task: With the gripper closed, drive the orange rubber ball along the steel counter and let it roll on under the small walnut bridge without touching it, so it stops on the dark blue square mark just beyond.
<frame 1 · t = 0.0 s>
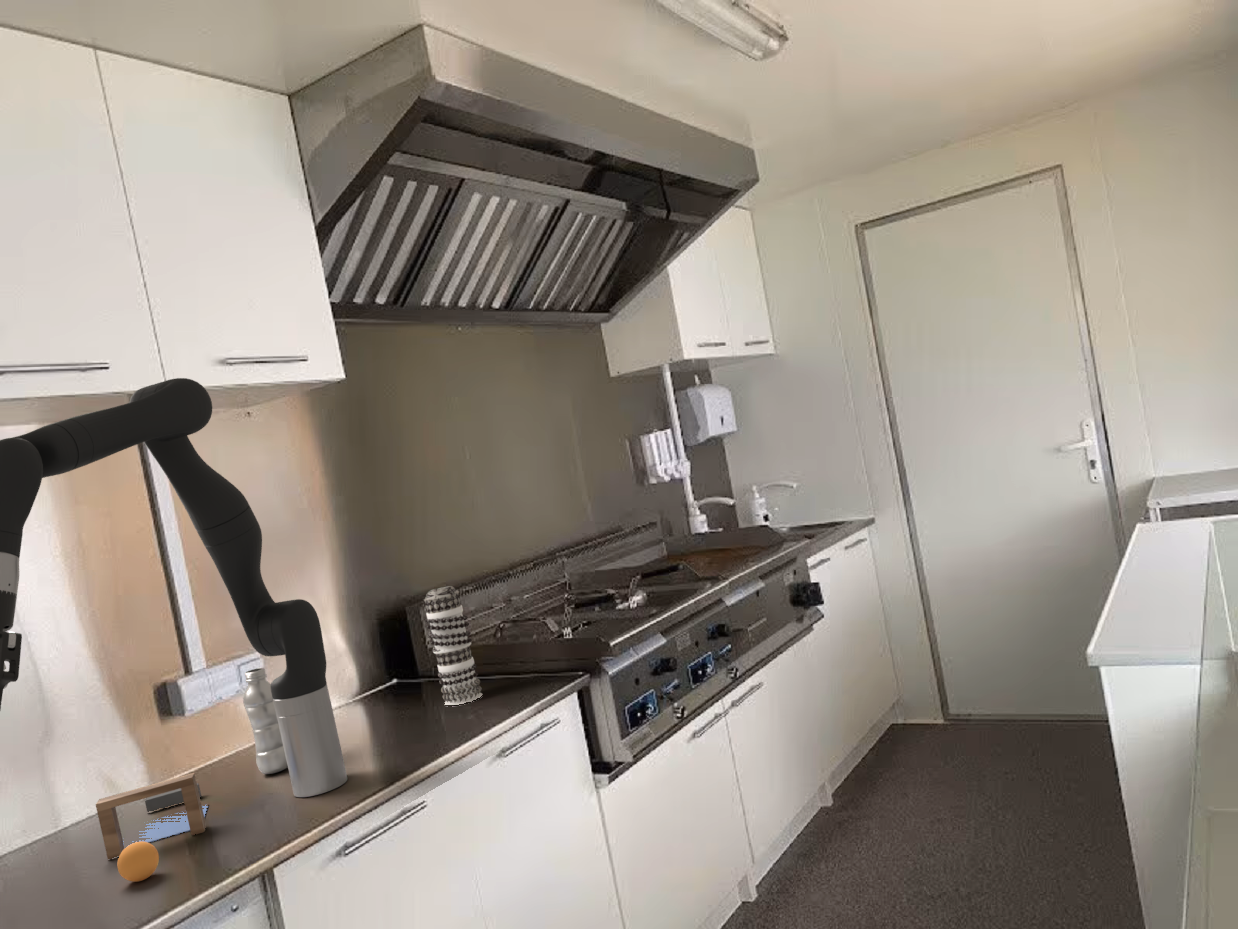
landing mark: (164, 827, 169), on the counter
decorative candle: (463, 701, 217), on the counter
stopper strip: (174, 805, 182), on the counter
ball: (138, 861, 146), on the counter
bridge: (158, 843, 162), on the counter
plastic bottle: (277, 772, 190), on the counter
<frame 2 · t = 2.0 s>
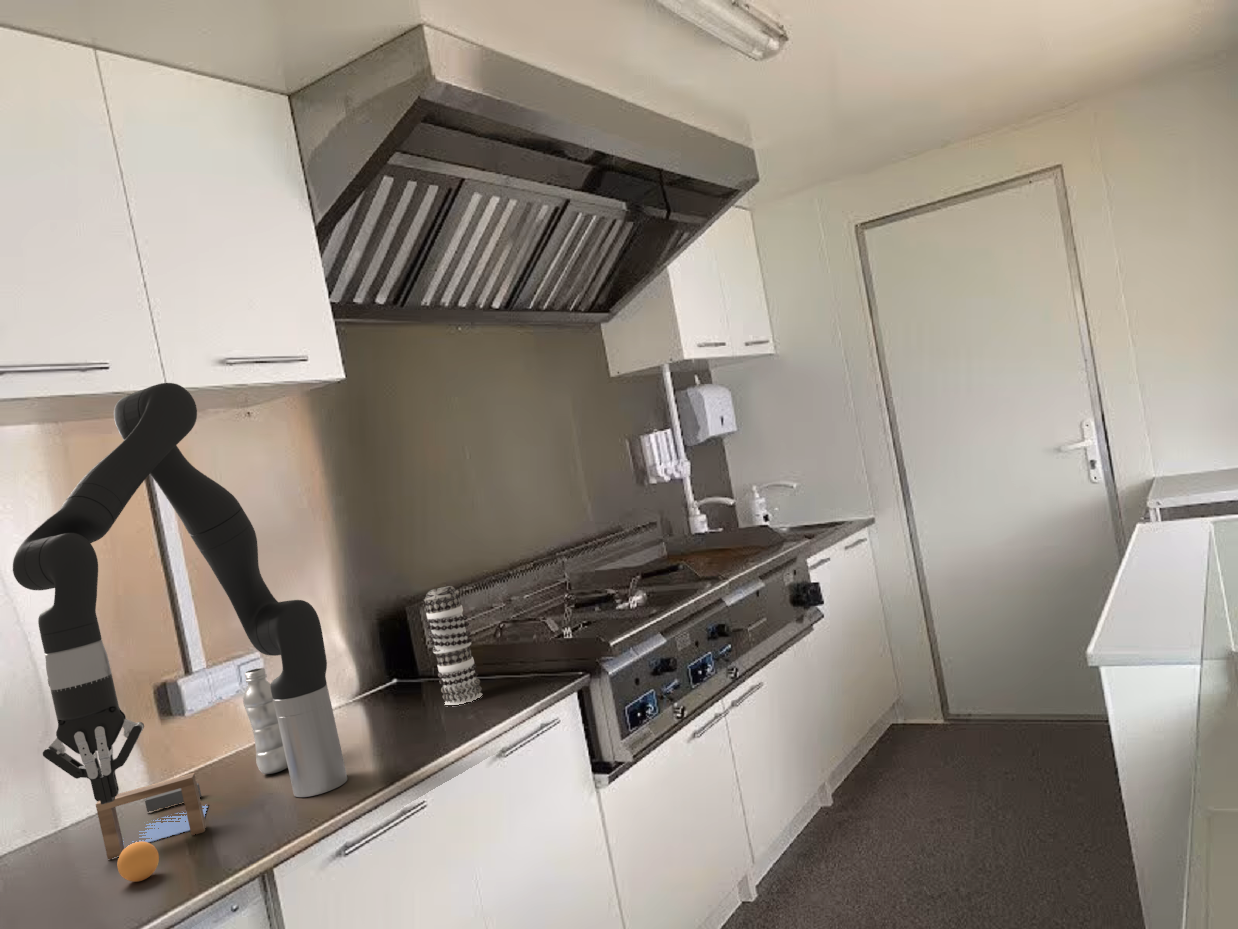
hand: (108, 801, 137), 15 cm above the counter, tool pointing down, fingers closed
nothing on the counter moved.
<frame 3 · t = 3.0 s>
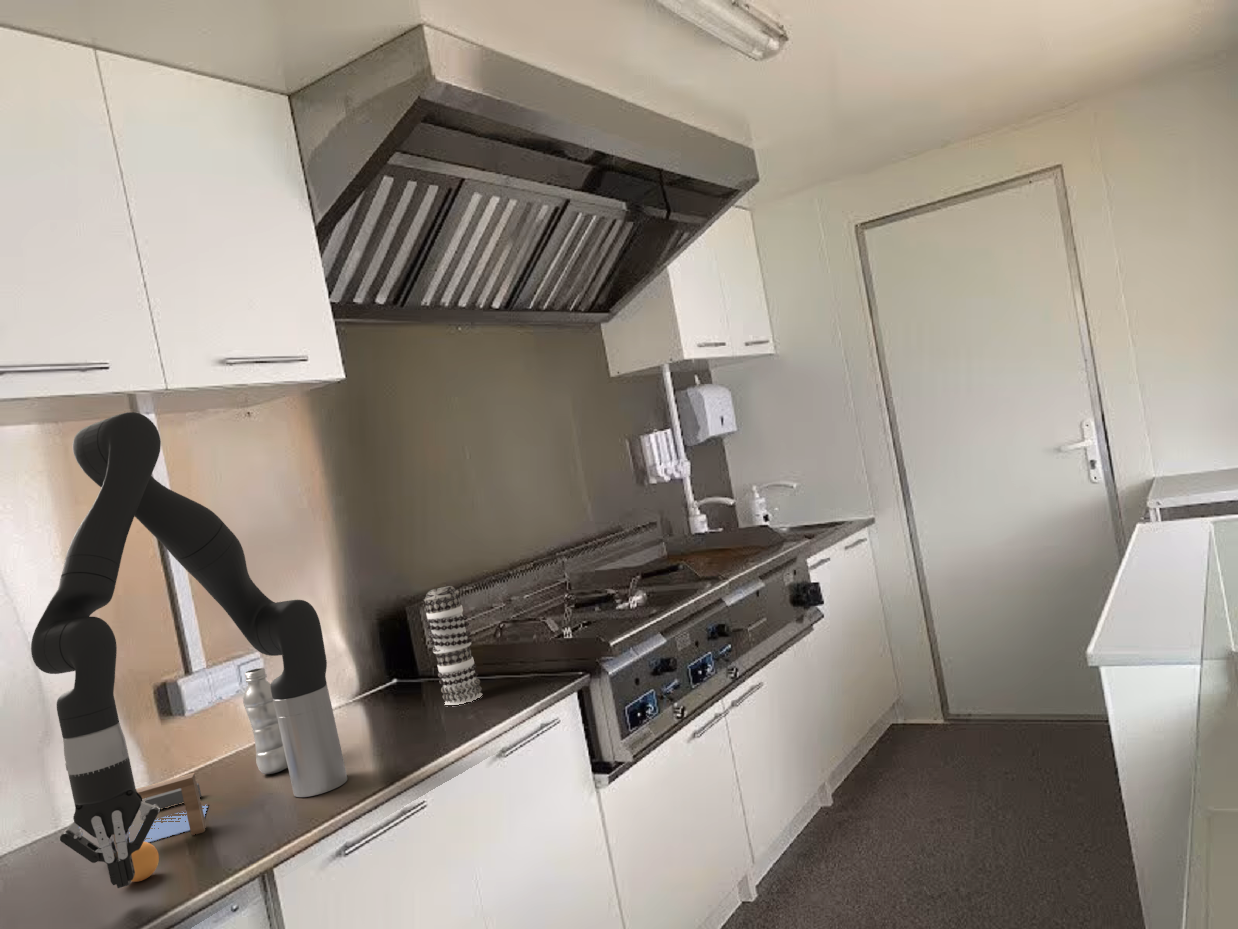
hand: (124, 885, 137), 3 cm above the counter, tool pointing down, fingers closed
nothing on the counter moved.
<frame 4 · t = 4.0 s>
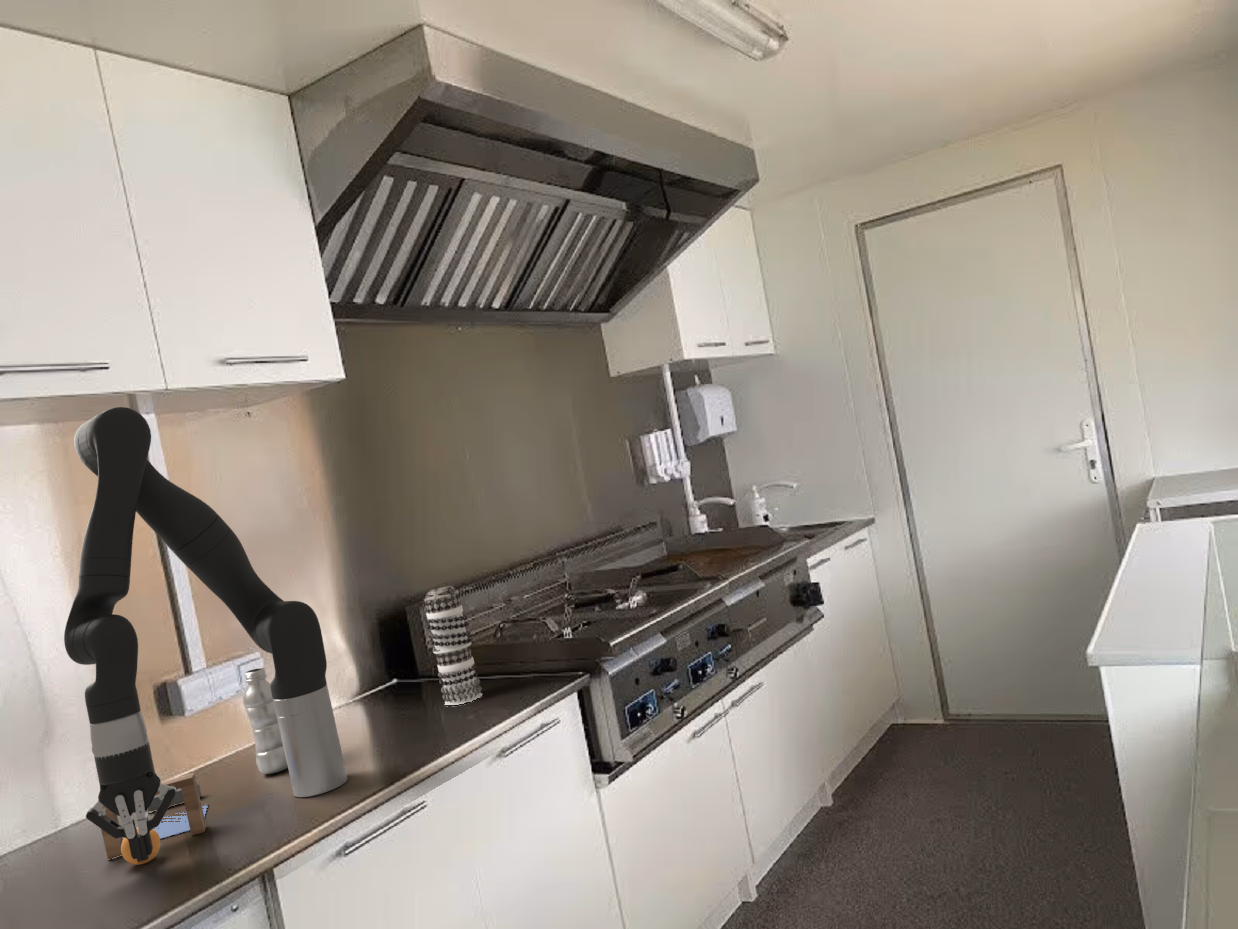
hand: (143, 859, 150), 2 cm above the counter, tool pointing down, fingers closed
ball: (140, 845, 153), on the counter, touching gripper
everything else where it was.
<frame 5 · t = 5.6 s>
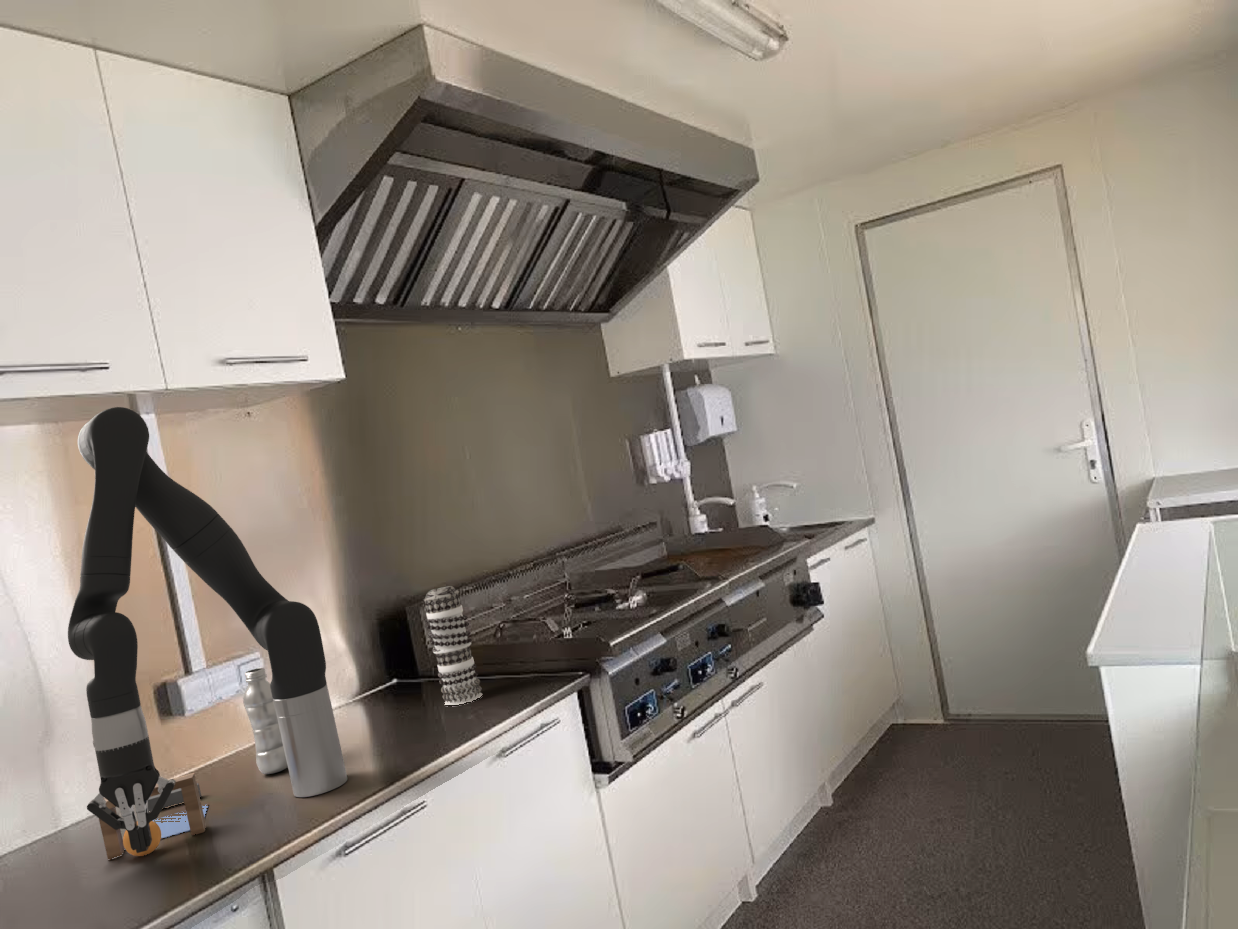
hand: (142, 850, 154), 2 cm above the counter, tool pointing down, fingers closed
ball: (142, 837, 157), on the counter, touching gripper
everything else where it was.
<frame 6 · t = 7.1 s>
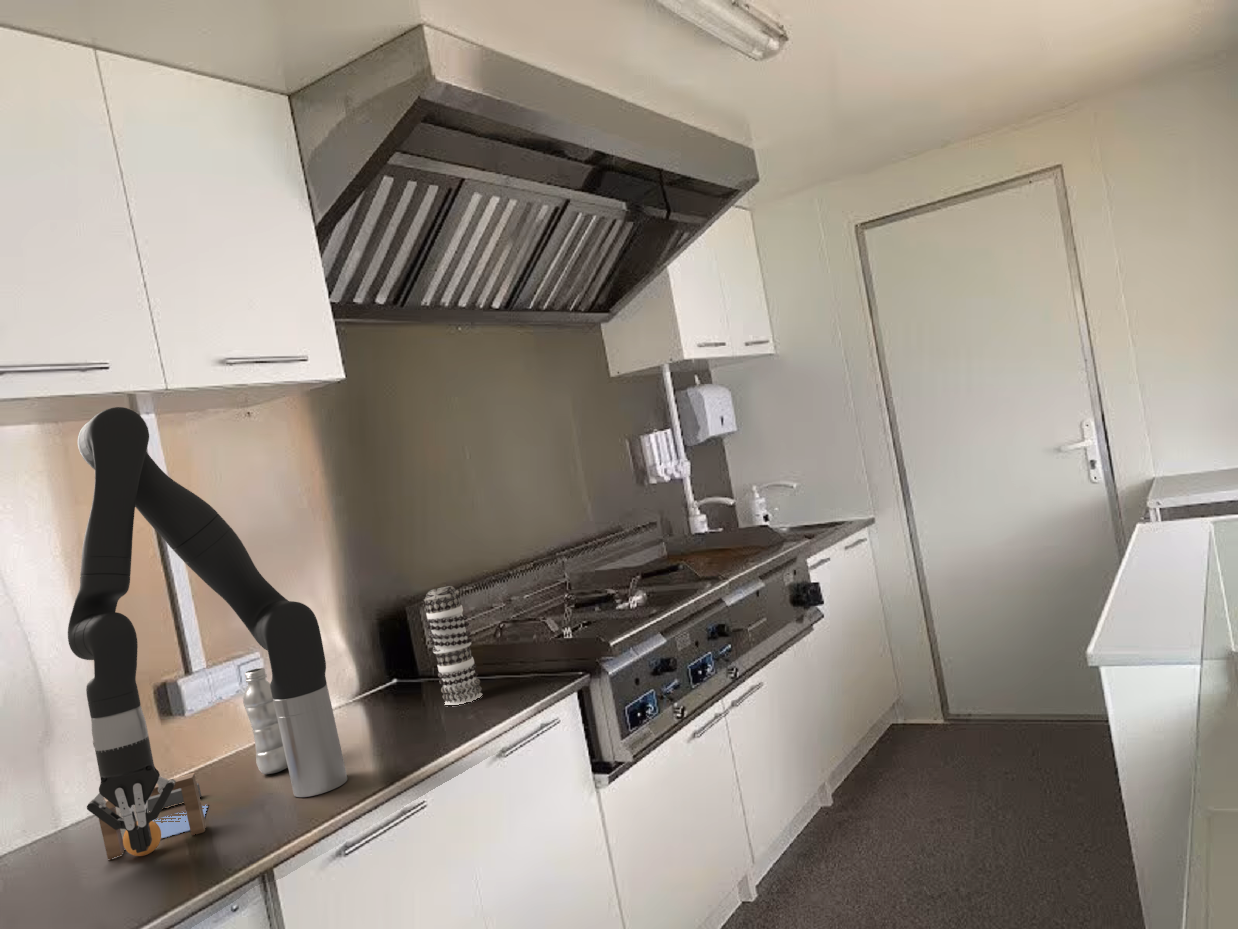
hand: (142, 850, 154), 2 cm above the counter, tool pointing down, fingers closed
nothing on the counter moved.
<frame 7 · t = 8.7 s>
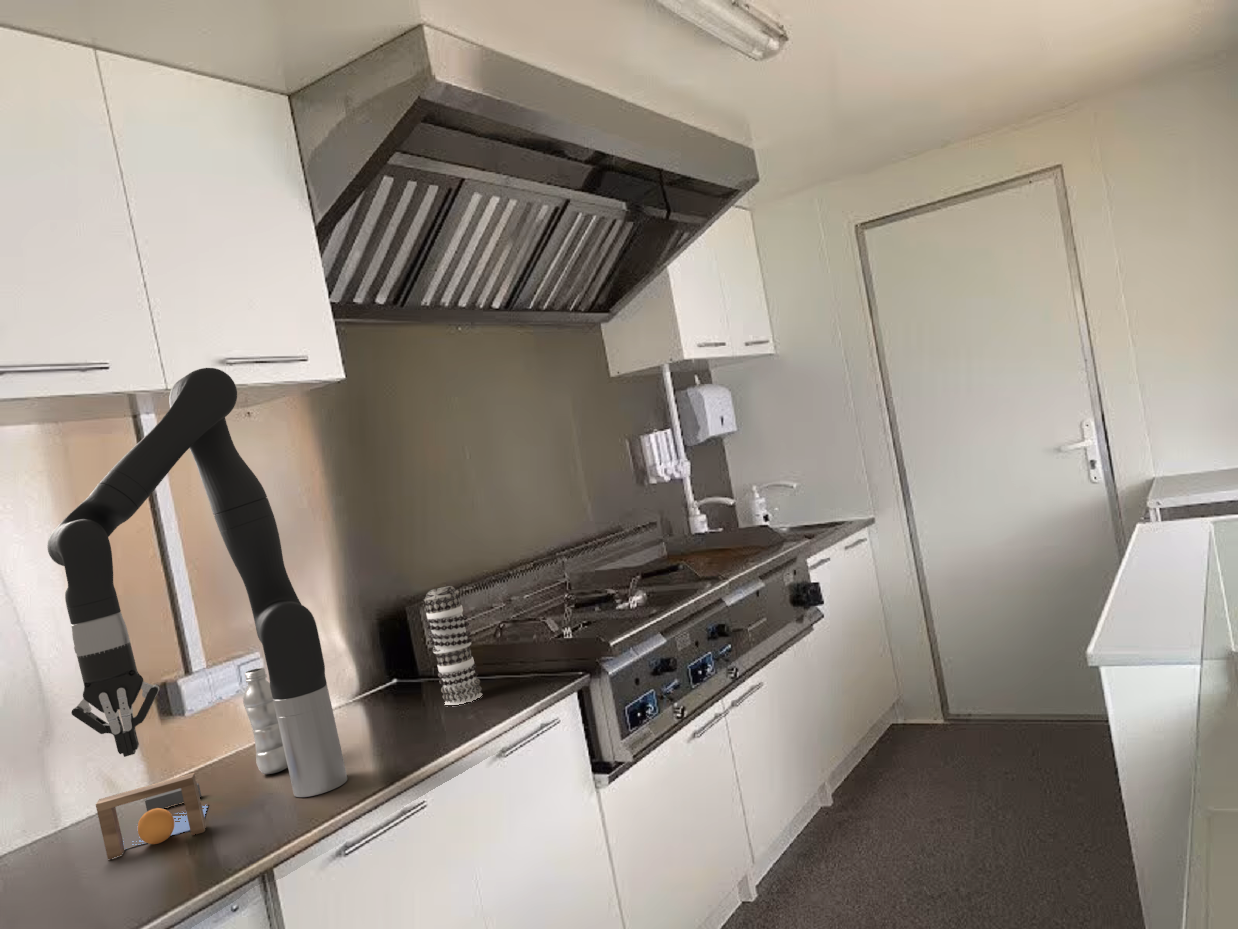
hand: (129, 754, 155), 17 cm above the counter, tool pointing down, fingers closed
ball: (156, 826, 162), on the counter
everything else where it was.
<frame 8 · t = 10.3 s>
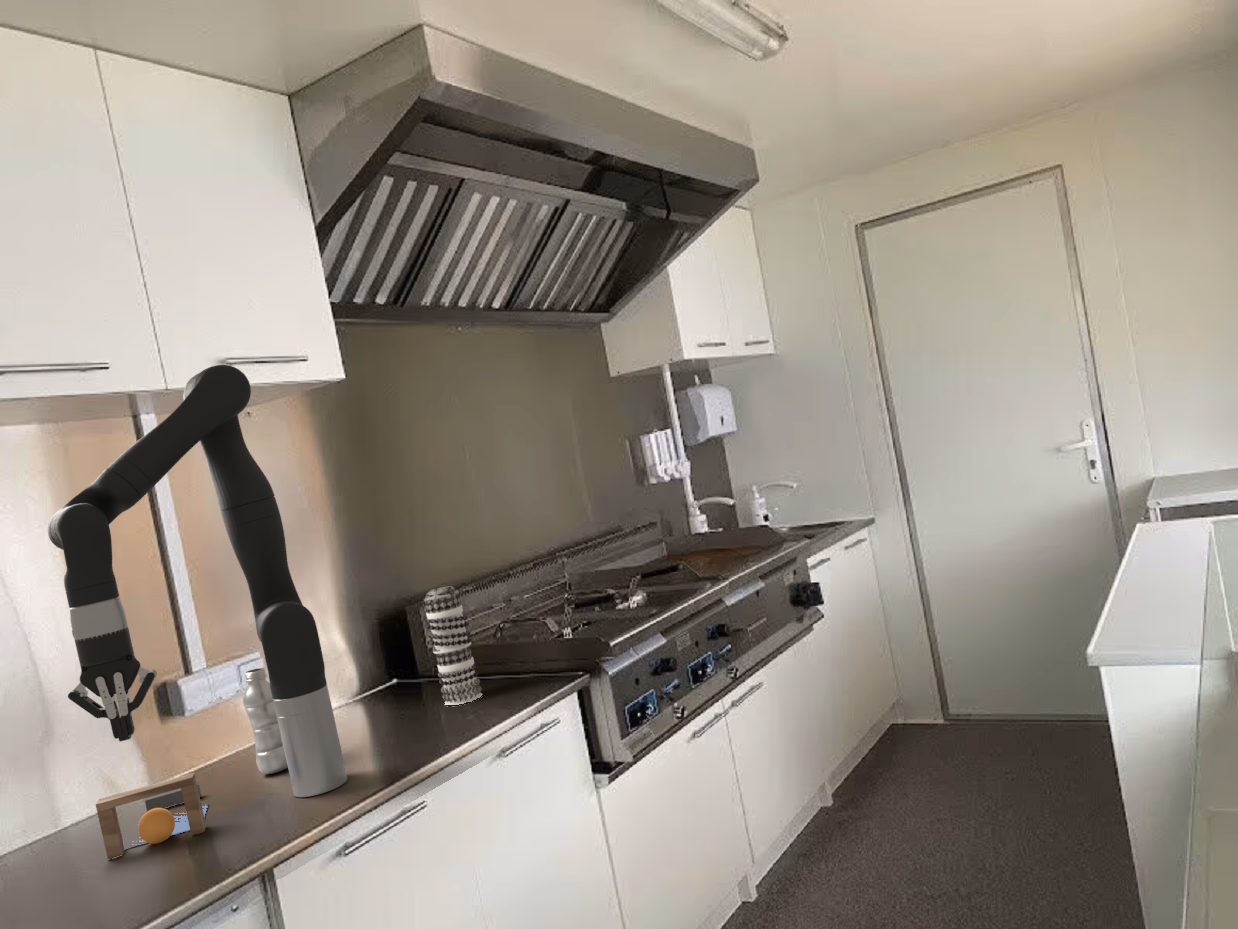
hand: (125, 739, 155), 19 cm above the counter, tool pointing down, fingers closed
nothing on the counter moved.
at the end: ball 7.8 cm from the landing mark (horizontally); ball never touched bridge; ball at rest at the end (0.0 cm/s) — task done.
